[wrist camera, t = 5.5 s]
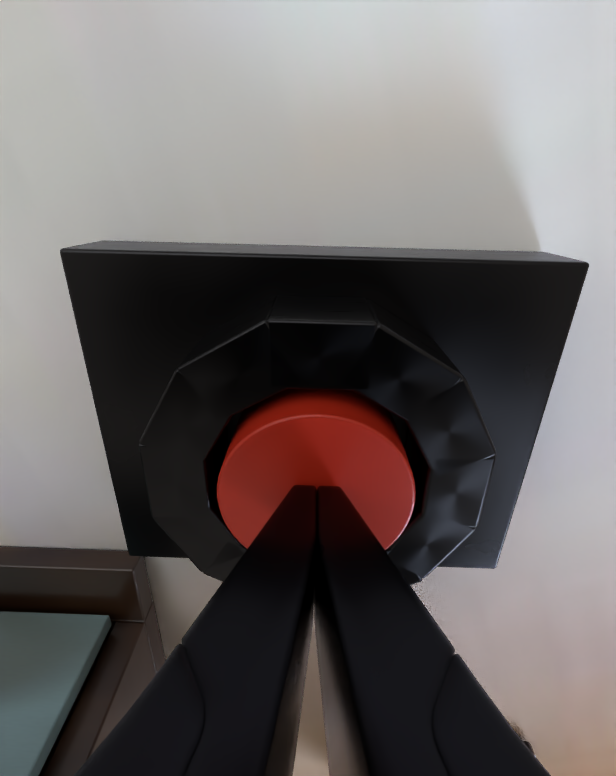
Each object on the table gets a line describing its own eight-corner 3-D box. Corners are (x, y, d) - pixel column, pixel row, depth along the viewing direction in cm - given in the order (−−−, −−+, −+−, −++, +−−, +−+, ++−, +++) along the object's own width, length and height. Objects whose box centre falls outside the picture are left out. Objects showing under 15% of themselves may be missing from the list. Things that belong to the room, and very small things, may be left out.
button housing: (545, 251, 9) (668, 280, 6) (474, 523, 12) (527, 635, 9) (101, 240, 9) (-14, 262, 6) (151, 513, 13) (95, 619, 9)
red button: (408, 375, 8) (430, 418, 6) (389, 514, 10) (403, 576, 8) (229, 370, 8) (208, 411, 7) (238, 509, 10) (222, 570, 8)
